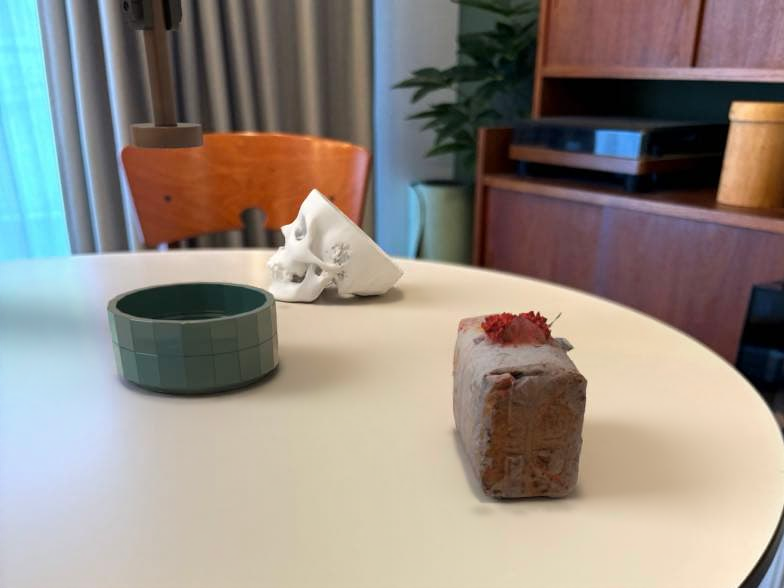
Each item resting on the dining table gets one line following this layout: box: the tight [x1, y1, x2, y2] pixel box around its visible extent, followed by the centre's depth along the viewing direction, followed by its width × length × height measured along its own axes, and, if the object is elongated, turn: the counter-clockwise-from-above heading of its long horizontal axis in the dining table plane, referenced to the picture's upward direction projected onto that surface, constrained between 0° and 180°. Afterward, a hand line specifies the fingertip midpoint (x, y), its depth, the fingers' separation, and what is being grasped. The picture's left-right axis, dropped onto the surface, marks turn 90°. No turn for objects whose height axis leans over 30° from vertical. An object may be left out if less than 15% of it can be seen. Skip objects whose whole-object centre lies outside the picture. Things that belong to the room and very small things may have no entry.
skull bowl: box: [266, 188, 405, 303], centre depth 93 cm, size 10×14×12 cm
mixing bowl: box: [106, 281, 280, 395], centre depth 70 cm, size 13×13×6 cm
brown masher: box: [129, 0, 205, 150], centre depth 64 cm, size 6×6×13 cm
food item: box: [452, 310, 589, 500], centre depth 54 cm, size 14×8×10 cm, turn 5°
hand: (153, 29), depth 63 cm, fingers closed on brown masher
